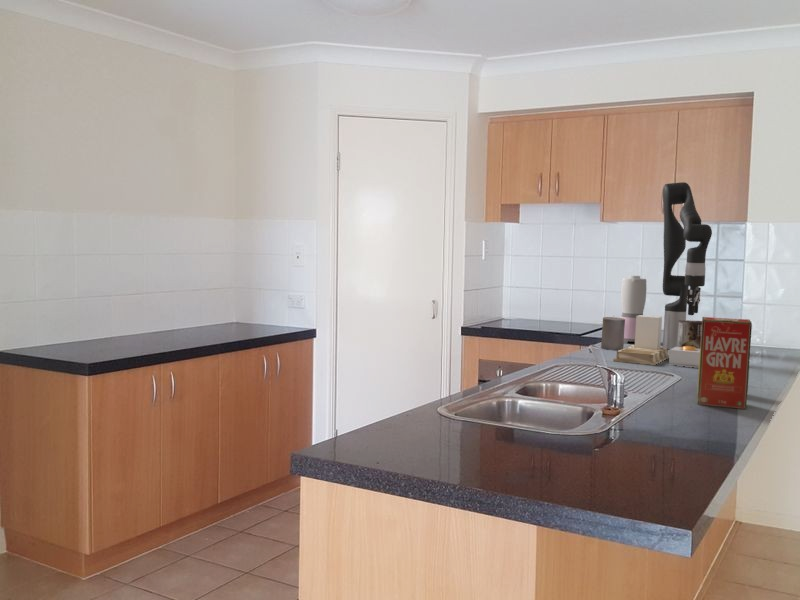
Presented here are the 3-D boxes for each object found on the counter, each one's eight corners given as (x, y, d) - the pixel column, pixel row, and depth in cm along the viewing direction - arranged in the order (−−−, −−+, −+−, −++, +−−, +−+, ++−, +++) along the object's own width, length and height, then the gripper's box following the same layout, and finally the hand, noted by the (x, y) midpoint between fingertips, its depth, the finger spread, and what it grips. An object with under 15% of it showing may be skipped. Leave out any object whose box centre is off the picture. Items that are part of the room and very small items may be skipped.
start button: (683, 358, 298) (683, 345, 297) (696, 359, 295) (696, 347, 295) (680, 359, 294) (681, 347, 293) (693, 361, 291) (694, 348, 291)
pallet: (631, 353, 321) (631, 344, 321) (670, 357, 313) (670, 348, 313) (613, 361, 298) (613, 351, 298) (654, 365, 290) (655, 355, 290)
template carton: (637, 353, 317) (639, 315, 316) (659, 355, 312) (662, 316, 311) (634, 354, 312) (636, 316, 311) (656, 356, 307) (658, 317, 306)
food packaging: (696, 404, 218) (701, 318, 216) (696, 399, 226) (701, 316, 225) (747, 409, 213) (753, 321, 211) (744, 403, 222) (750, 319, 220)
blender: (646, 344, 354) (650, 276, 351) (619, 343, 356) (622, 275, 353) (641, 340, 369) (645, 275, 367) (615, 339, 371) (619, 274, 369)
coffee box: (698, 359, 310) (701, 320, 309) (703, 362, 304) (706, 322, 303) (676, 358, 311) (678, 319, 310) (680, 360, 305) (682, 321, 304)
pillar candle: (596, 347, 339) (598, 314, 338) (615, 346, 342) (617, 314, 341) (609, 350, 330) (611, 316, 329) (628, 350, 333) (630, 316, 332)
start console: (675, 361, 303) (676, 346, 302) (707, 364, 297) (708, 349, 296) (668, 365, 293) (669, 349, 292) (701, 368, 286) (702, 352, 286)
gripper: (688, 272, 311) (686, 311, 313) (681, 274, 299) (679, 315, 301) (708, 273, 307) (705, 313, 309) (701, 275, 295) (699, 316, 297)
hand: (692, 314), depth 305 cm, fingers open, 8 cm apart
